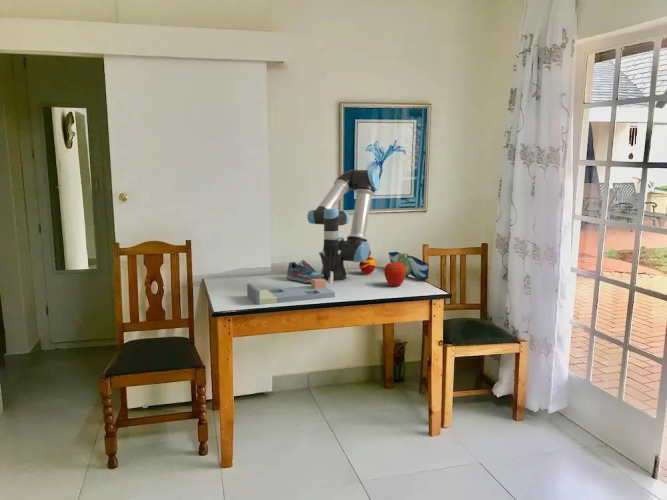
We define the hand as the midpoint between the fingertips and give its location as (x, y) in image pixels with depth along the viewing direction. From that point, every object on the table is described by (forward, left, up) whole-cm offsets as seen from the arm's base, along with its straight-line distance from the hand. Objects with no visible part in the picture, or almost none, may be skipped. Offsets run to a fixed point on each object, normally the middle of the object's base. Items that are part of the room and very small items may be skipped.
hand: (330, 283), depth 279 cm
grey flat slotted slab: (+23, +4, -4) cm, 24 cm away
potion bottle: (-36, -29, -4) cm, 46 cm away
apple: (-37, +3, -4) cm, 37 cm away
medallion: (-55, -17, -4) cm, 57 cm away
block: (+7, 0, -2) cm, 7 cm away
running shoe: (+5, -27, -4) cm, 28 cm away
